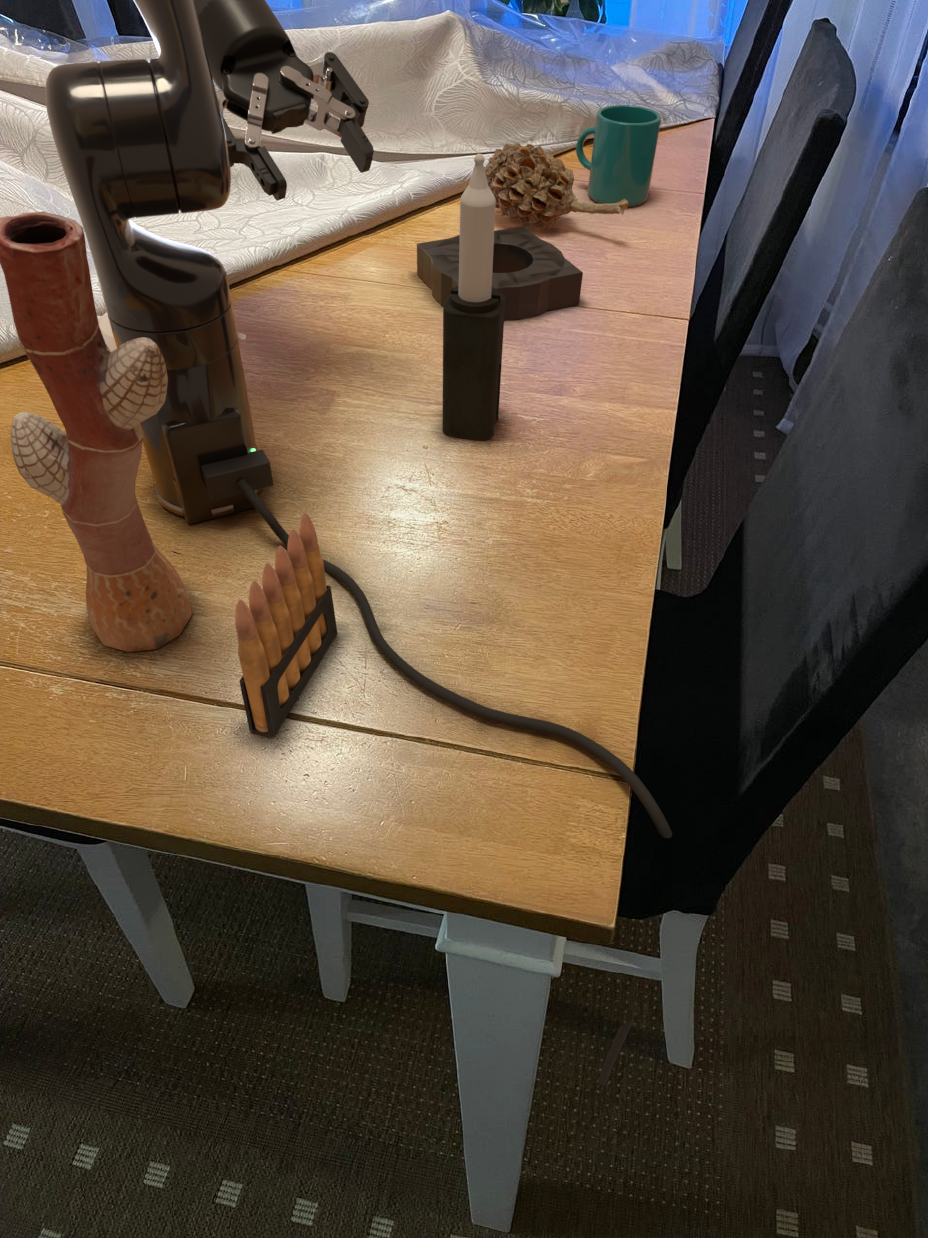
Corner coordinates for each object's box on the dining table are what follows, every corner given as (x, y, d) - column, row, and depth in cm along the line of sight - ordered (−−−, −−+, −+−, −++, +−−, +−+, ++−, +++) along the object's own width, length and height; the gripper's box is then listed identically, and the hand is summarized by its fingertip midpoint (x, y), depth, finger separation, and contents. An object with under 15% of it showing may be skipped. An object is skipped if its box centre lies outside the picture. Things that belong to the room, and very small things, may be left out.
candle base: (585, 305, 106) (589, 273, 103) (465, 330, 101) (466, 296, 98) (523, 253, 116) (525, 223, 113) (411, 274, 111) (410, 242, 108)
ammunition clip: (273, 739, 60) (246, 614, 51) (248, 732, 60) (218, 607, 51) (338, 632, 67) (323, 507, 58) (315, 626, 67) (298, 501, 59)
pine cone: (467, 225, 123) (469, 148, 116) (495, 202, 129) (498, 128, 122) (617, 256, 116) (629, 177, 109) (639, 231, 122) (651, 154, 115)
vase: (67, 633, 66) (-108, 227, 45) (127, 573, 71) (-4, 180, 50) (185, 675, 63) (60, 264, 42) (240, 609, 68) (152, 212, 47)
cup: (585, 178, 137) (594, 97, 129) (656, 194, 133) (670, 111, 125) (559, 195, 131) (567, 112, 123) (633, 213, 127) (646, 128, 119)
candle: (491, 442, 85) (505, 167, 67) (440, 435, 86) (441, 161, 68) (500, 414, 89) (516, 146, 71) (450, 407, 89) (454, 140, 72)
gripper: (151, 3, 70) (256, 170, 69) (305, -31, 75) (404, 123, 74) (154, 80, 77) (249, 232, 76) (295, 43, 82) (385, 185, 81)
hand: (326, 178), depth 75 cm, fingers open, 8 cm apart
